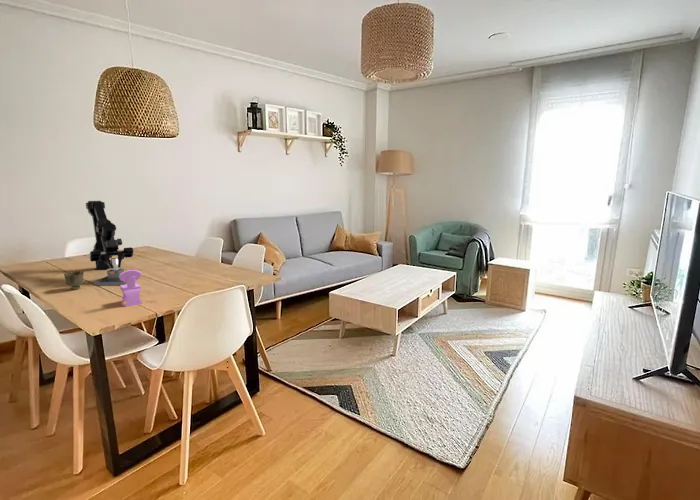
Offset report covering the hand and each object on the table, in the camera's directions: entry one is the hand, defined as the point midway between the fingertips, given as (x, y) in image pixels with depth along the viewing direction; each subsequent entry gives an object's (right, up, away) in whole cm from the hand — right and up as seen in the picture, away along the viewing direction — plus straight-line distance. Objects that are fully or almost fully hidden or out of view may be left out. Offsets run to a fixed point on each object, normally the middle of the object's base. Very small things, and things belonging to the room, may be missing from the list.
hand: (115, 267), depth 187 cm
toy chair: (+25, -14, -28) cm, 40 cm away
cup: (-12, -10, -11) cm, 19 cm away
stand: (-1, -7, +2) cm, 8 cm away
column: (-1, -7, +2) cm, 8 cm away
